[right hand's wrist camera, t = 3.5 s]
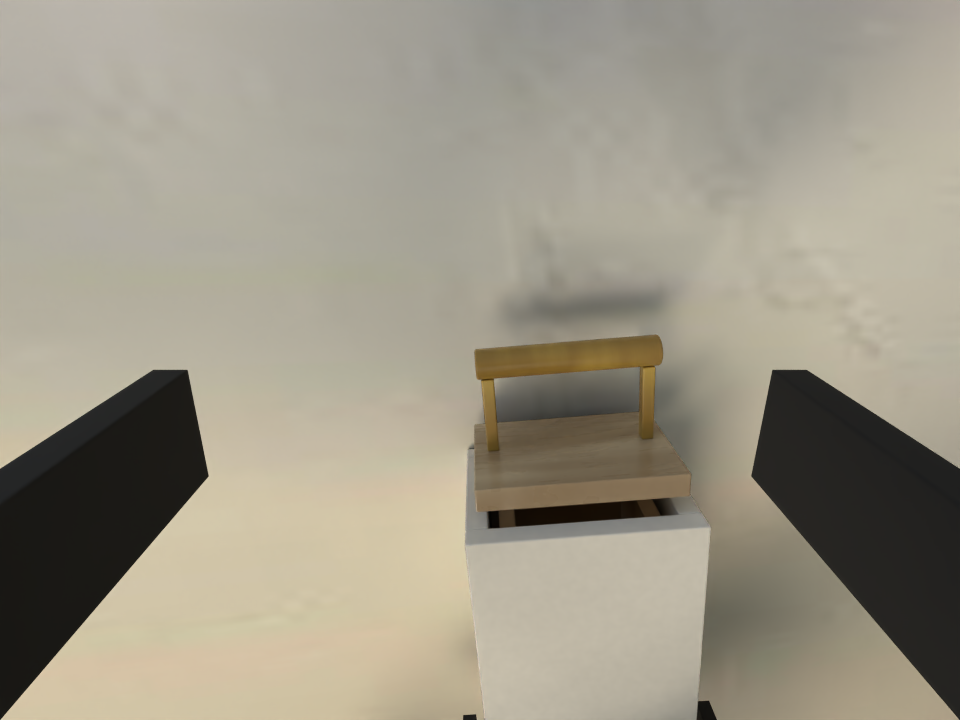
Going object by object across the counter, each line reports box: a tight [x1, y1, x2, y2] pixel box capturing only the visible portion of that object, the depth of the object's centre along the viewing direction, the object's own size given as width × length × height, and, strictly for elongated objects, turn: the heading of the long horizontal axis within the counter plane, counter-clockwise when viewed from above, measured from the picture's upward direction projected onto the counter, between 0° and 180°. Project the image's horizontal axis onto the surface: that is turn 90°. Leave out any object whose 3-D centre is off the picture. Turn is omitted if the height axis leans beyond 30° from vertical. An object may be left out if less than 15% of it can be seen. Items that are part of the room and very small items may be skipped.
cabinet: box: [465, 449, 711, 720], centre depth 31 cm, size 20×11×8 cm, turn 5°
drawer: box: [474, 335, 691, 528], centre depth 30 cm, size 24×10×6 cm, turn 5°
